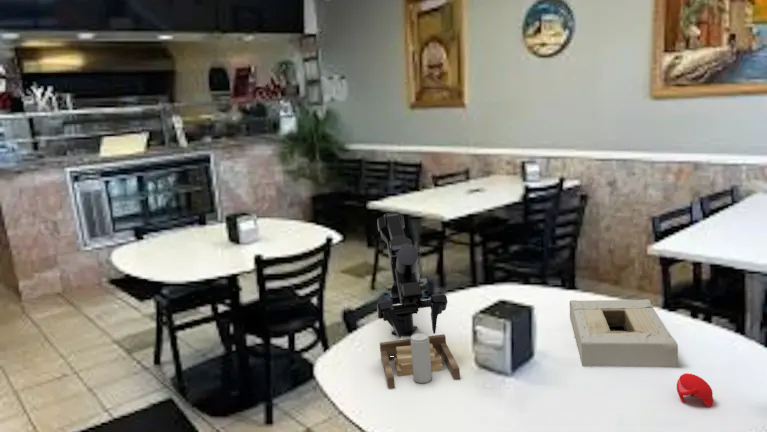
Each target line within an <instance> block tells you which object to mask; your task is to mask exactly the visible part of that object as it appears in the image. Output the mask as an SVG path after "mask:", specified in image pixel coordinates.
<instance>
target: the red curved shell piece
mask: <svg viewBox="0 0 767 432" xmlns="http://www.w3.org/2000/svg"><path fill="white" fill-rule="evenodd" d="M676 391H677V394H678V396H679V398H680V401H681V403H683V404H685V403H686V401H687V400H686V399H685V396H691V397H693V396H695V397H697V398H699V399H701V401H702V403H703V404H704V405H706V406H707V407H708V408H711V407H713V405H714V396H713V395H714V394H713V389H712V387H711V386H710V385H709V383H708V382H707V381H706V380H705V379H703V378H702V377H700V376H699V375H696V374H693V373H683V374H680V376H679V378H678V380H677V383H676Z"/></svg>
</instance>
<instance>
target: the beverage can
mask: <svg viewBox="0 0 767 432" xmlns="http://www.w3.org/2000/svg"><path fill="white" fill-rule="evenodd" d="M428 336H429V335H428V333H424V332H417V333H413V334H412V335H411V336H410V339H411V340H410V341H411V353H412V364H413V374H412V375H413V380H414V381H415V382H416V383H418V384H427V383H429V382H431V380H432V378H433V375H432V374H433V373H432V372H433V371H432V372H431V359H430V343H429V337H428Z"/></svg>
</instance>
